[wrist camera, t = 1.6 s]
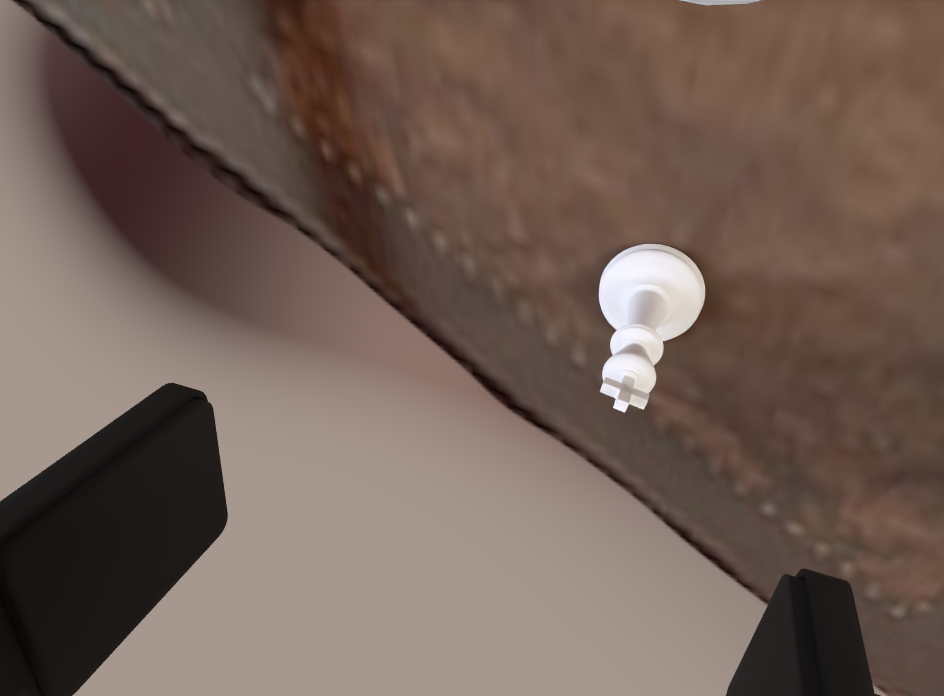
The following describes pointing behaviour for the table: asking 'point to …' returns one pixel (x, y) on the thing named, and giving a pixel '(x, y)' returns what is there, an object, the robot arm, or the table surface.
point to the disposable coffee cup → (720, 1)
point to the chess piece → (645, 315)
